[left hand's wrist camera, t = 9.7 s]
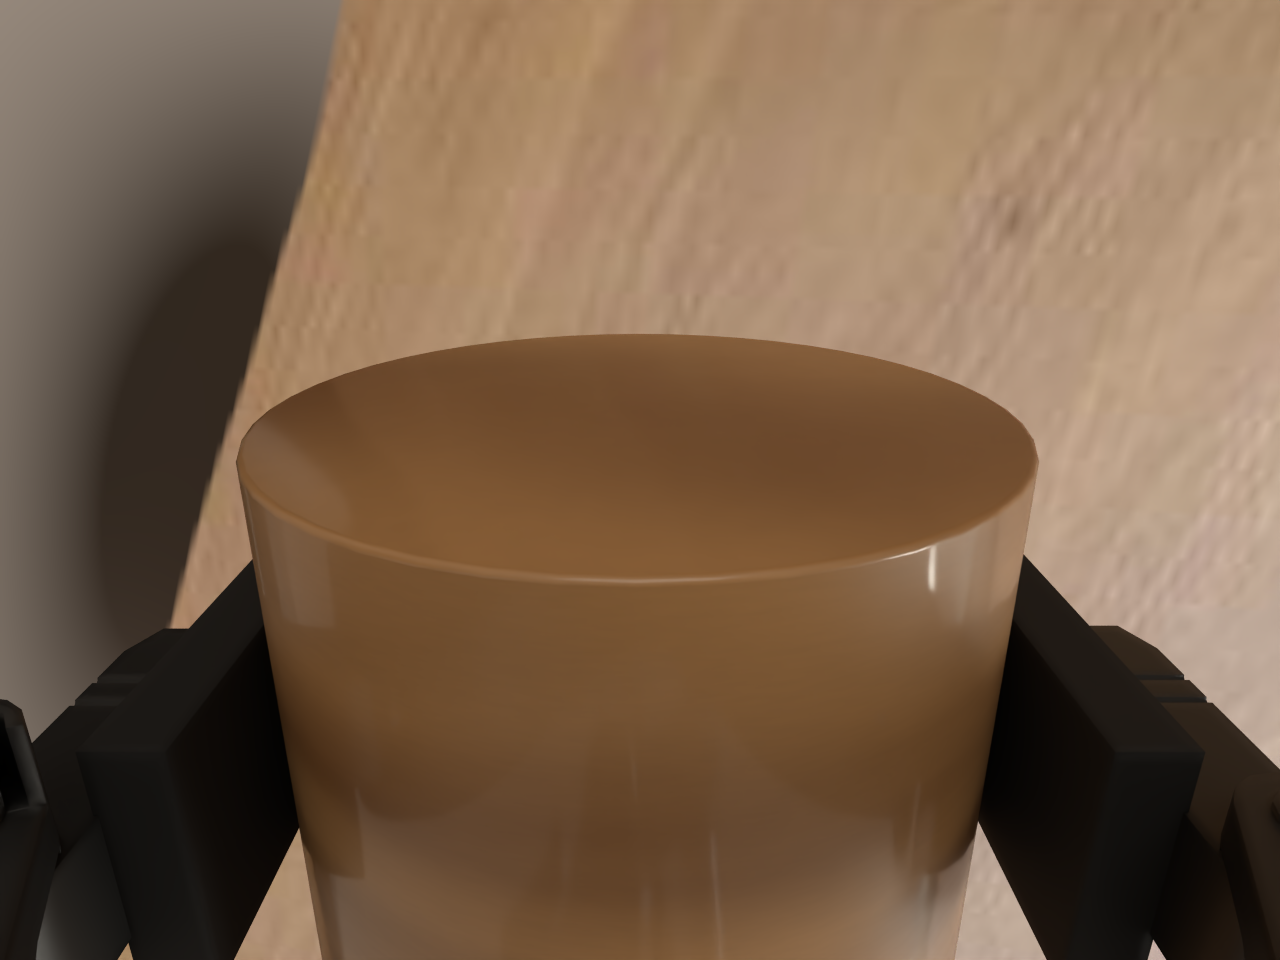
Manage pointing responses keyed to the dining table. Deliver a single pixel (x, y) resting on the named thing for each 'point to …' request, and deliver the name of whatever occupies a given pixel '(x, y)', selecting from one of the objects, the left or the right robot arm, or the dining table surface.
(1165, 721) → the left robot arm
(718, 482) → the rod
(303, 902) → the dining table surface
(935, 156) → the dining table surface
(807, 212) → the dining table surface
